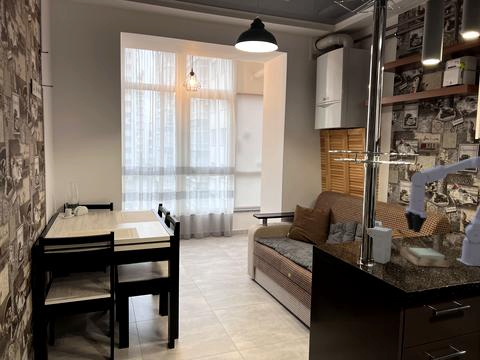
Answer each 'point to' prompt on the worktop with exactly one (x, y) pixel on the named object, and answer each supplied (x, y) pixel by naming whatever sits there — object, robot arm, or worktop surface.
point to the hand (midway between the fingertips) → (414, 230)
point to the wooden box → (424, 262)
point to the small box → (381, 243)
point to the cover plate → (427, 253)
